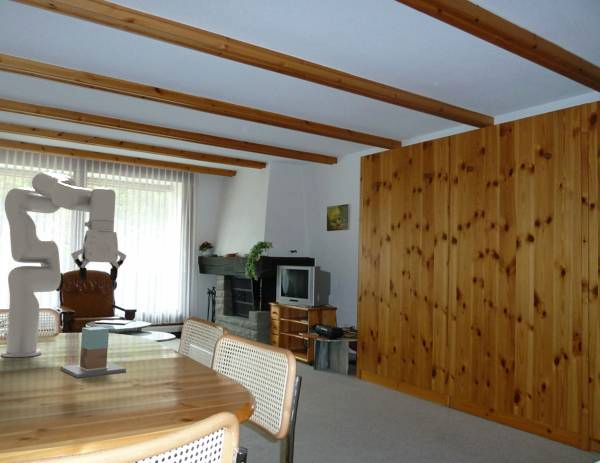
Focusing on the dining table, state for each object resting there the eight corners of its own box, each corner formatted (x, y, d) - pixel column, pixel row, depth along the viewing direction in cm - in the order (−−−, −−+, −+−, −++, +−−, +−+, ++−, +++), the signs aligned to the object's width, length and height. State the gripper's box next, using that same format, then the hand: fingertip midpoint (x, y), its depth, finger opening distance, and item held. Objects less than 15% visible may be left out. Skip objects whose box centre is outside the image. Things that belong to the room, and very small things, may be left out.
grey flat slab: (60, 369, 162) (60, 365, 162) (107, 364, 173) (107, 360, 173) (77, 377, 152) (77, 373, 152) (125, 371, 162) (126, 367, 163)
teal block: (81, 347, 163) (82, 327, 163) (99, 345, 167) (100, 326, 167) (89, 349, 159) (90, 330, 159) (107, 347, 163) (109, 328, 163)
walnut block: (79, 366, 163) (80, 346, 163) (98, 364, 167) (99, 345, 167) (87, 369, 158) (88, 349, 159) (106, 367, 162) (107, 348, 163)
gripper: (78, 224, 156) (75, 281, 155) (132, 228, 168) (129, 281, 167) (69, 225, 162) (65, 280, 161) (122, 229, 174) (119, 280, 173)
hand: (98, 280), depth 164 cm, fingers open, 9 cm apart
